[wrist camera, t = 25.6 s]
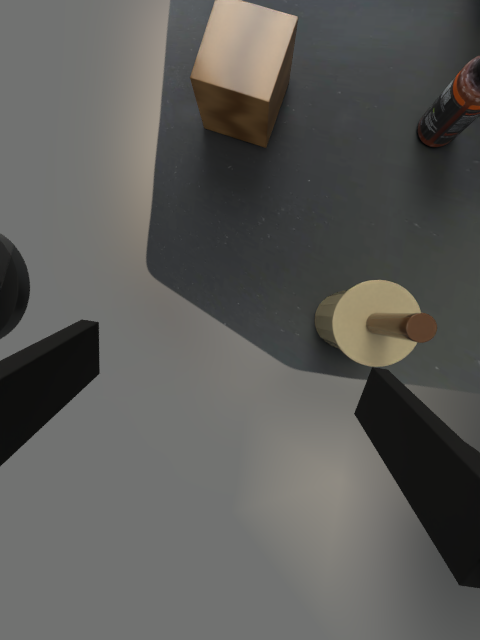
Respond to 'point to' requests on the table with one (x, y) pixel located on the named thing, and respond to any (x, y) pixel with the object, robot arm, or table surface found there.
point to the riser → (243, 69)
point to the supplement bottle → (453, 108)
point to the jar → (327, 318)
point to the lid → (379, 323)
